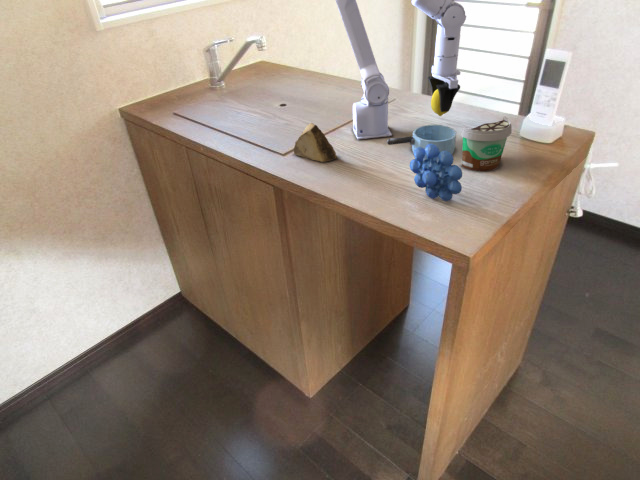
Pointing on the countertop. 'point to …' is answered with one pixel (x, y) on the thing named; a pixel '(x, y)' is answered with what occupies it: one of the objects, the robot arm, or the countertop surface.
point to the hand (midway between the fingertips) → (441, 107)
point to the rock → (314, 145)
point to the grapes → (436, 172)
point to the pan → (435, 137)
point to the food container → (485, 145)
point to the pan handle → (401, 140)
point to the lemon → (436, 103)
